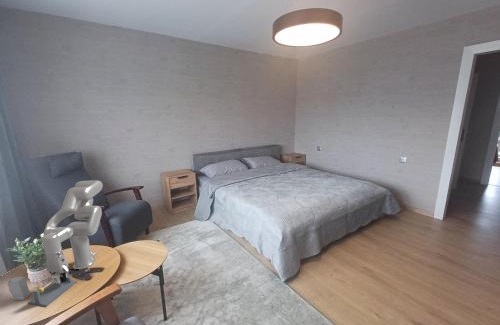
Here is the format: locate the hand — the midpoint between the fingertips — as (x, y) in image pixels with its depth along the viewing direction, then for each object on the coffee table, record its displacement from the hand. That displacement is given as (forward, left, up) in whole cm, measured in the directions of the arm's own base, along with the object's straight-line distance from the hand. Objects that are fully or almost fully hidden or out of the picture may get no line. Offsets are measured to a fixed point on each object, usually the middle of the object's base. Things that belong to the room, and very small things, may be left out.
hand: (60, 280), depth 134 cm
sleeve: (0, 0, 0) cm, 0 cm away
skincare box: (+10, -15, -5) cm, 19 cm away
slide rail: (+4, 0, -4) cm, 6 cm away
